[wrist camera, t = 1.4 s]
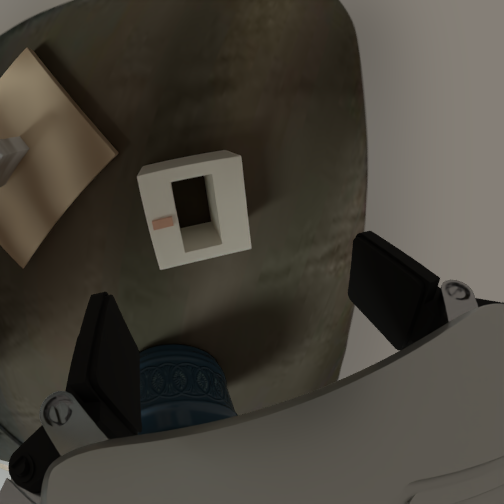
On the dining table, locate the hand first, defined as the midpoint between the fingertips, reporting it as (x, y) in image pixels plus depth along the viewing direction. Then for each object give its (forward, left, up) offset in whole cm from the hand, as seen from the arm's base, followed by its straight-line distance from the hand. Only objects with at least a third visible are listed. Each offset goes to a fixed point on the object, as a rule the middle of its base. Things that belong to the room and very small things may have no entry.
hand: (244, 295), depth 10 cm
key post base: (-9, +14, -15) cm, 23 cm away
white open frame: (0, 0, -15) cm, 15 cm away
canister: (-17, -15, -15) cm, 28 cm away
